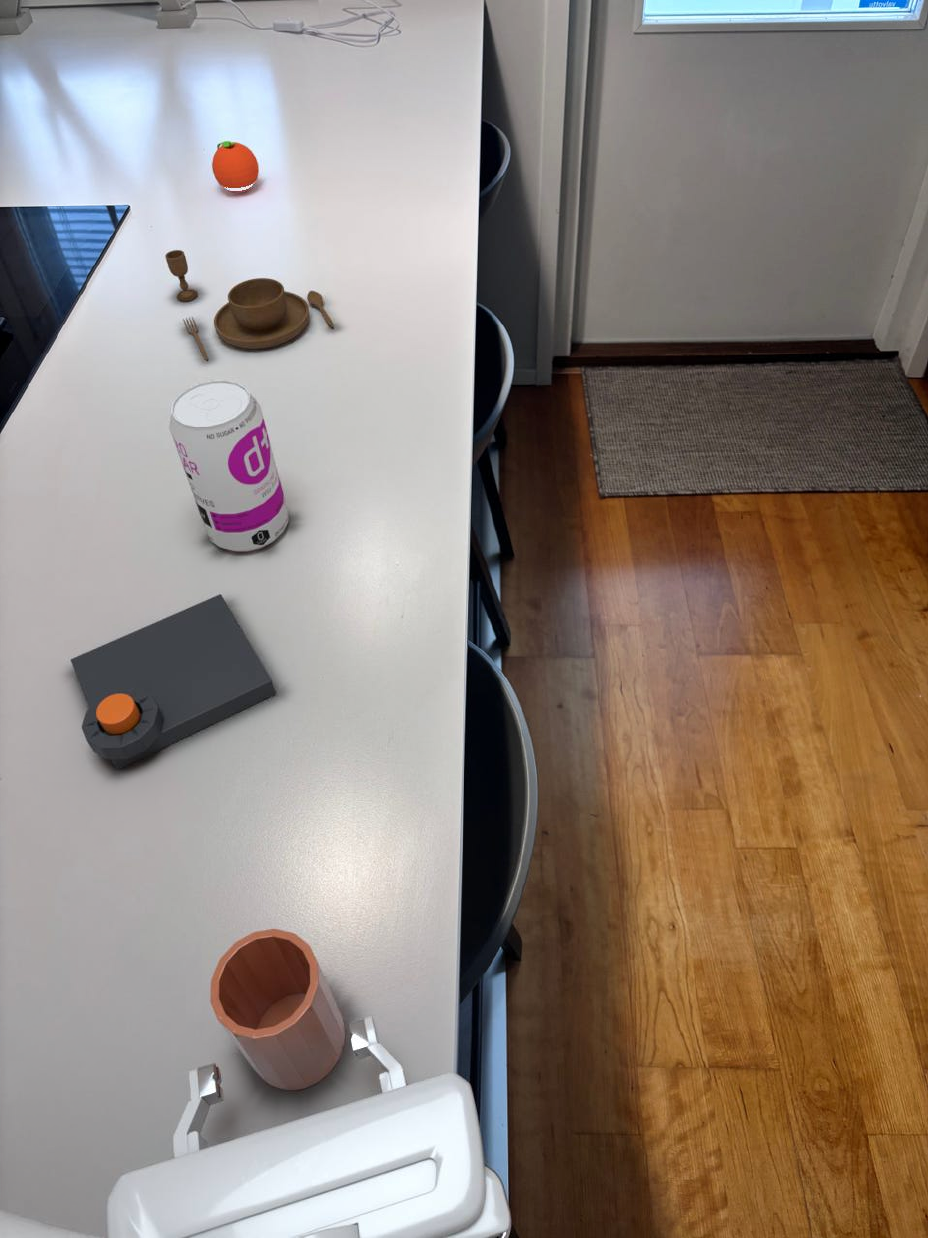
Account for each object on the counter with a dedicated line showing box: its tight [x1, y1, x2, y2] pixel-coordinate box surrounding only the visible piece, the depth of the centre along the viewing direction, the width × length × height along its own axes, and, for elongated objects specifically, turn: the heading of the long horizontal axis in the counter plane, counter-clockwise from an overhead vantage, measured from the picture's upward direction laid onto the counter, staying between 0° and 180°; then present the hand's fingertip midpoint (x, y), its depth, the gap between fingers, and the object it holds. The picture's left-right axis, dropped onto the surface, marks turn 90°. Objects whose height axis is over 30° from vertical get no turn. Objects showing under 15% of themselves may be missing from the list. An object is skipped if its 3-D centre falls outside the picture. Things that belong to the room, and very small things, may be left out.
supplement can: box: [168, 379, 290, 553], centre depth 90 cm, size 8×8×15 cm
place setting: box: [164, 249, 335, 361], centre depth 120 cm, size 18×20×6 cm
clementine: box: [211, 140, 260, 194], centre depth 145 cm, size 8×7×7 cm
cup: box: [209, 928, 346, 1091], centre depth 58 cm, size 6×6×10 cm
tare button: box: [96, 693, 140, 735], centre depth 76 cm, size 3×3×2 cm
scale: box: [70, 593, 277, 770], centre depth 81 cm, size 15×13×4 cm
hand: (283, 1045), depth 56 cm, fingers open, 8 cm apart
